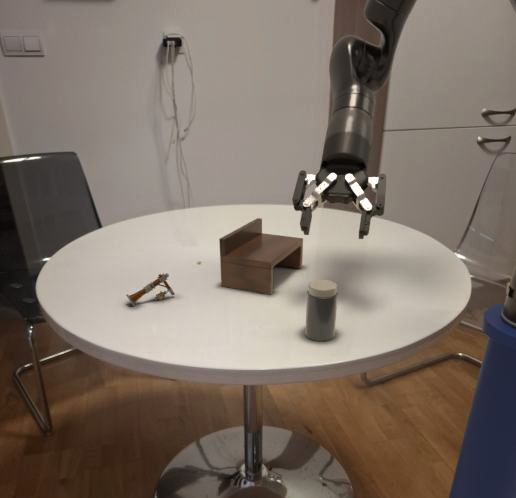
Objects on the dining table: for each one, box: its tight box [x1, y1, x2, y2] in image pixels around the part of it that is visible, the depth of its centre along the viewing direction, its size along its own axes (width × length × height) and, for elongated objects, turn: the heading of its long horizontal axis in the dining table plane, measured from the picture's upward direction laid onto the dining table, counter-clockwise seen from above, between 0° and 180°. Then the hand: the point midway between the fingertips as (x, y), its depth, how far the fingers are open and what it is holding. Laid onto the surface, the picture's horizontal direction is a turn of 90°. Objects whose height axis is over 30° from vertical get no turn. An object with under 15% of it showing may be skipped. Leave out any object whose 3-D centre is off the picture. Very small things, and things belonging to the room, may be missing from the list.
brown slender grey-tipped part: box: [125, 272, 175, 307], centre depth 85 cm, size 2×8×4 cm, turn 117°
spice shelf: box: [218, 217, 304, 296], centre depth 94 cm, size 10×16×9 cm, turn 155°
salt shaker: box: [304, 279, 339, 342], centre depth 72 cm, size 4×4×8 cm
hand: (333, 234), depth 76 cm, fingers open, 8 cm apart
